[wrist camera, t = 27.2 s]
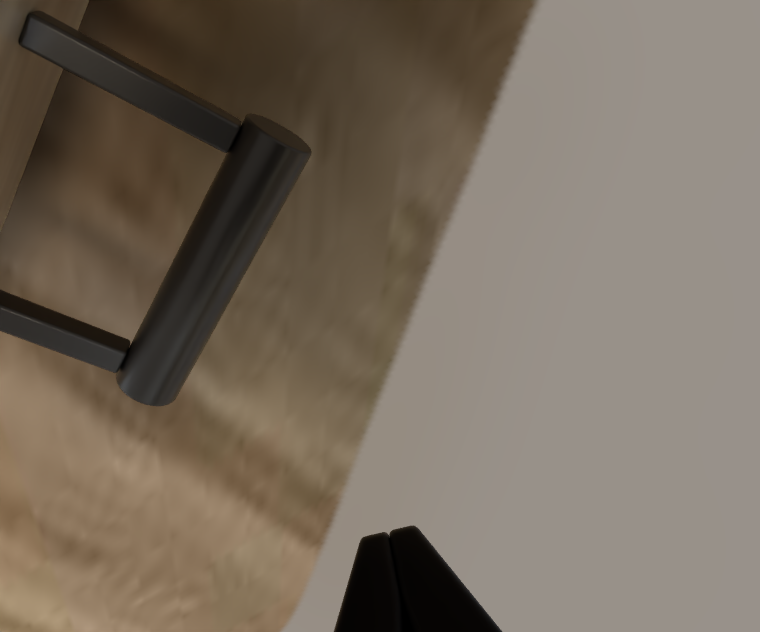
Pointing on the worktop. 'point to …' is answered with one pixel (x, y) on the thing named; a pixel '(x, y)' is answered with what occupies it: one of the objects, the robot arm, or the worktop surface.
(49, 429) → the worktop surface
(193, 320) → the drawer
